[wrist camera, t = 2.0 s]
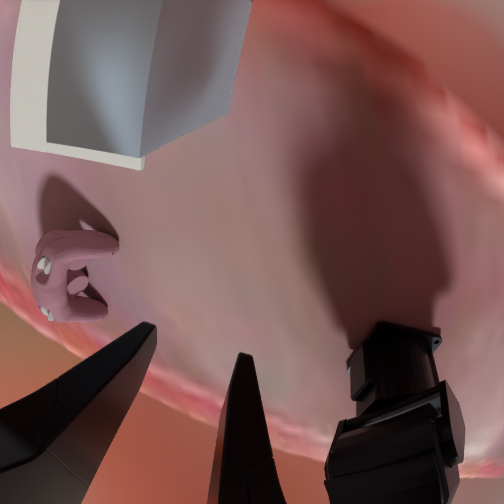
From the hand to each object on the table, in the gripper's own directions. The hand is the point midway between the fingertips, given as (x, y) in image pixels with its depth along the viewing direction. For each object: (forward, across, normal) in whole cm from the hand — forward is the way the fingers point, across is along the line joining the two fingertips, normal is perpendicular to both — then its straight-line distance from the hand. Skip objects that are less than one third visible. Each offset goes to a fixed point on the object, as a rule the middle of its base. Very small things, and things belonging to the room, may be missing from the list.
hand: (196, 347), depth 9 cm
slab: (+12, +5, -8) cm, 15 cm away
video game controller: (+12, +14, +10) cm, 21 cm away
